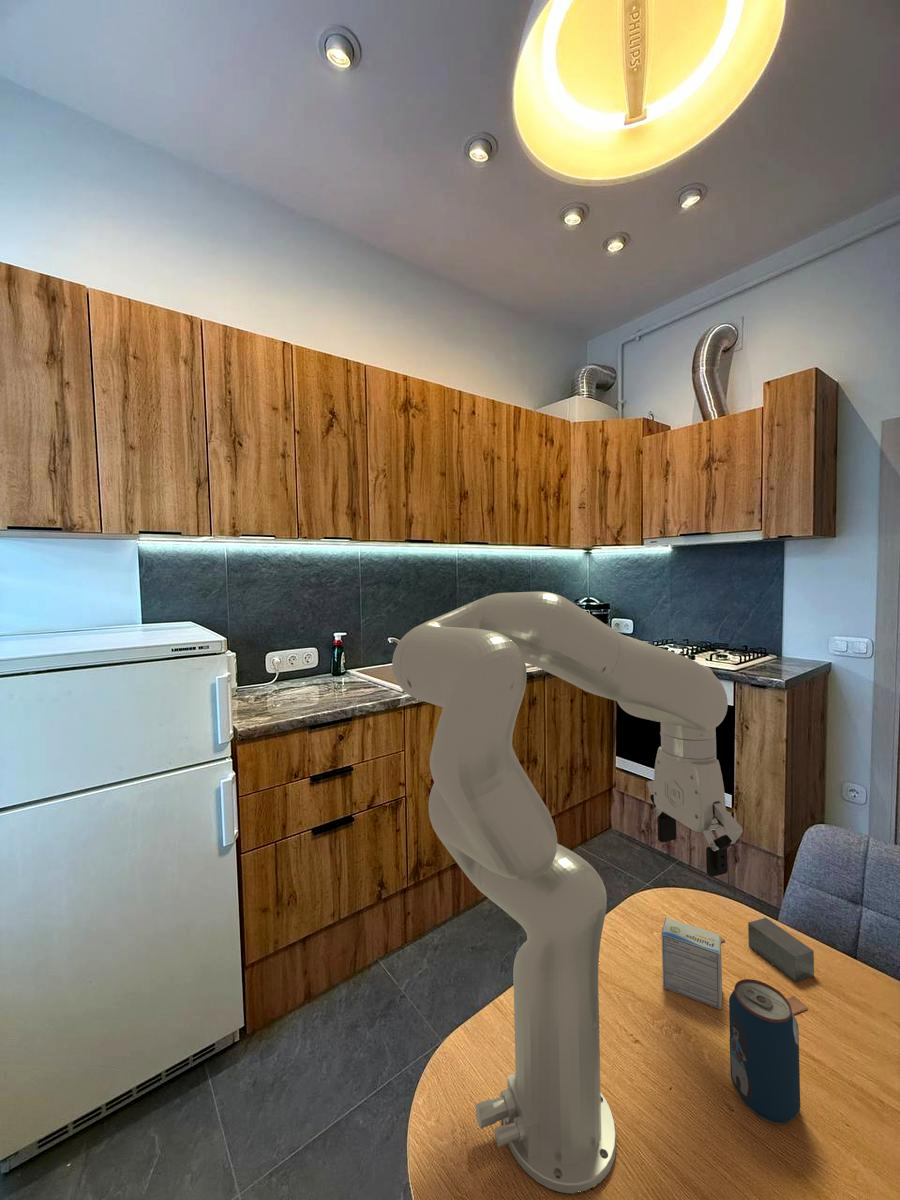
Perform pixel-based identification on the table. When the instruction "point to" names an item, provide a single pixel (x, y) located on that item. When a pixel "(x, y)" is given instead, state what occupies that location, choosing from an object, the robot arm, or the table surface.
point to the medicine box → (692, 962)
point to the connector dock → (782, 953)
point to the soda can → (764, 1051)
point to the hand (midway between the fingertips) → (690, 856)
